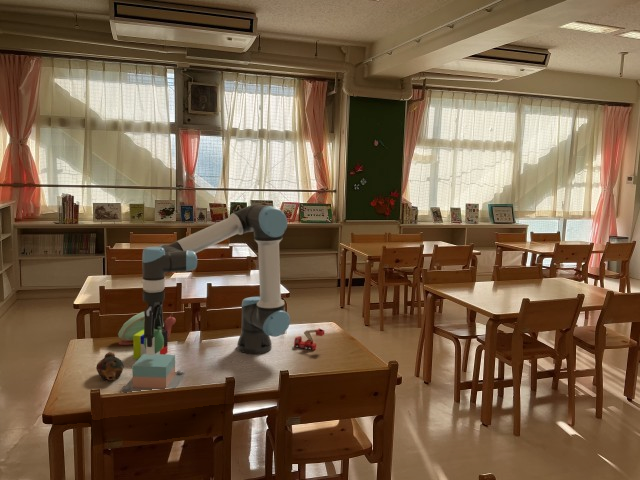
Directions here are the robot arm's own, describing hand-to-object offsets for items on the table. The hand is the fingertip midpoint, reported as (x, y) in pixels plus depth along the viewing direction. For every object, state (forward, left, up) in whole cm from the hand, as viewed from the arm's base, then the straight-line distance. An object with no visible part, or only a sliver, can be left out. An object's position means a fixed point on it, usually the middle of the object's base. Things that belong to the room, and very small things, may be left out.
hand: (154, 350), depth 194 cm
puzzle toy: (+10, -27, -13) cm, 32 cm away
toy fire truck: (-56, -42, -13) cm, 71 cm away
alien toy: (0, 0, -1) cm, 1 cm away
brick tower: (0, 0, -13) cm, 13 cm away
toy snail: (+17, -45, -13) cm, 49 cm away
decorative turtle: (+18, -4, -13) cm, 22 cm away
